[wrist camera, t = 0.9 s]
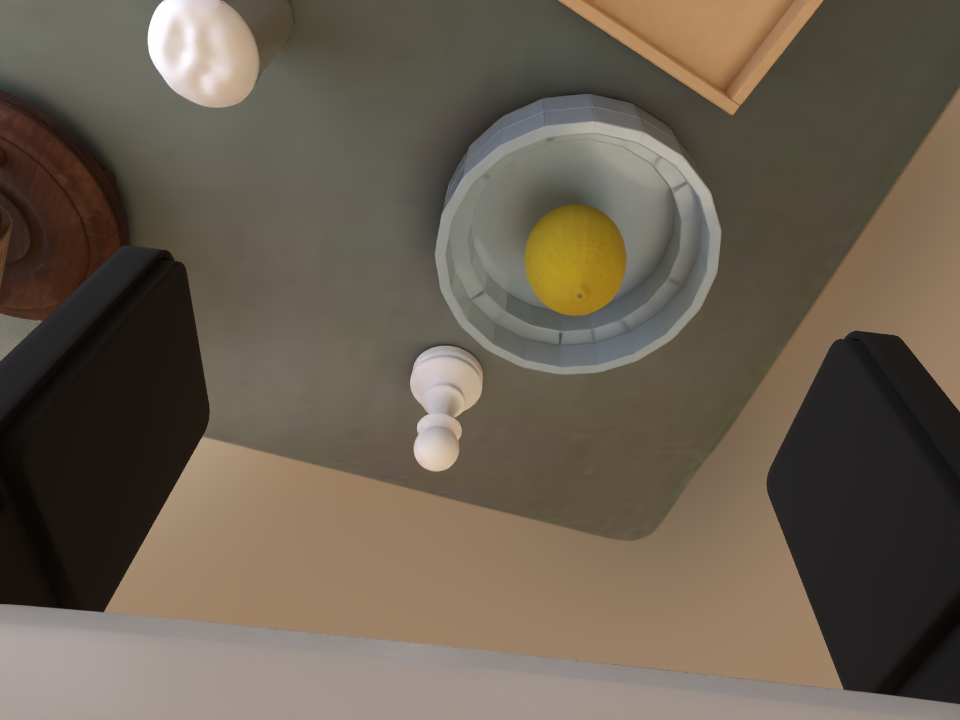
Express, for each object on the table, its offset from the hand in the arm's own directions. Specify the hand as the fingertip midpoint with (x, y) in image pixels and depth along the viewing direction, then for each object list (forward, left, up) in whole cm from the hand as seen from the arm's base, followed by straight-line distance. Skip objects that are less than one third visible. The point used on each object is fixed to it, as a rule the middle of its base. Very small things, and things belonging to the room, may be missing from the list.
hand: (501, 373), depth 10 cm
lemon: (+9, +9, -30) cm, 32 cm away
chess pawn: (+23, +8, -30) cm, 39 cm away
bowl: (+9, +9, -30) cm, 32 cm away
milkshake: (+7, -11, -30) cm, 33 cm away
